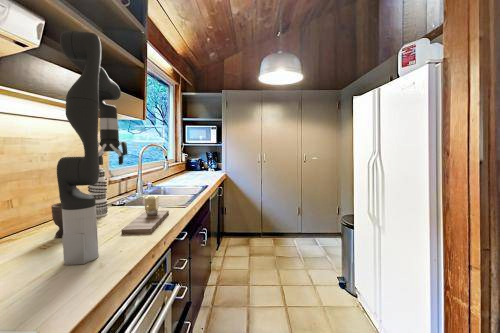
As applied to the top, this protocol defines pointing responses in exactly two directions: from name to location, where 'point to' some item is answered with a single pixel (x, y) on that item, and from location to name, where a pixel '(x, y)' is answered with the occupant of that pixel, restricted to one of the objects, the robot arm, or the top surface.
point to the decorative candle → (100, 194)
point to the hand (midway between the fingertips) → (110, 164)
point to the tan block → (151, 203)
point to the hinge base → (145, 222)
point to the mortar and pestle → (58, 218)
